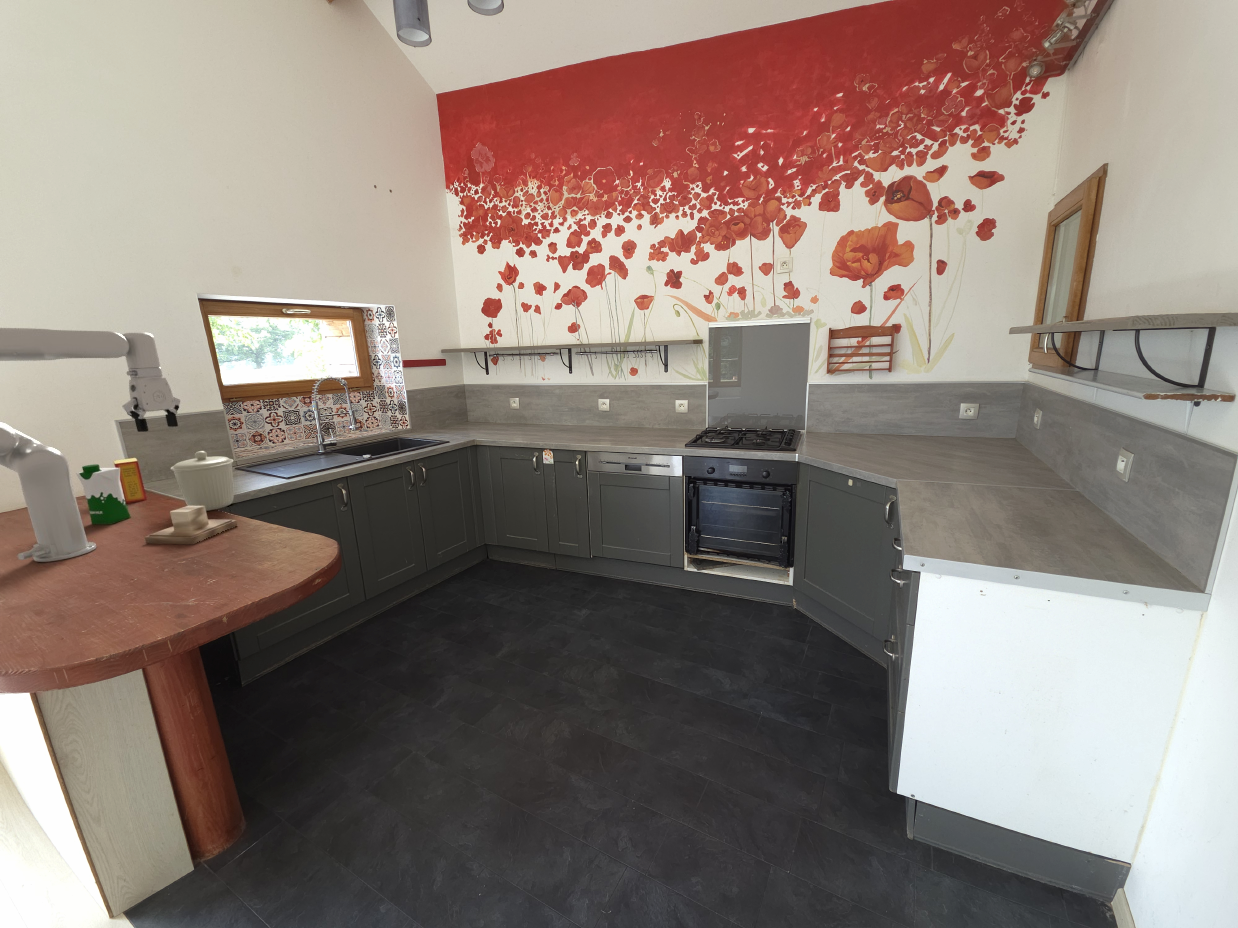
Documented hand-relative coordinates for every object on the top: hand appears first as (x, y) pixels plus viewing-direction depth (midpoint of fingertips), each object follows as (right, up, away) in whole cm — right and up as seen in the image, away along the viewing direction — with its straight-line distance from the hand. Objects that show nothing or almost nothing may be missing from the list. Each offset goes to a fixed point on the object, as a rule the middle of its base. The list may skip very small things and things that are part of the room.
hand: (158, 429), depth 166 cm
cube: (+12, -31, -2) cm, 33 cm away
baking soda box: (-46, -25, +42) cm, 67 cm away
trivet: (+12, -33, -1) cm, 35 cm away
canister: (-4, -27, +28) cm, 39 cm away
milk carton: (-29, -31, +15) cm, 45 cm away
